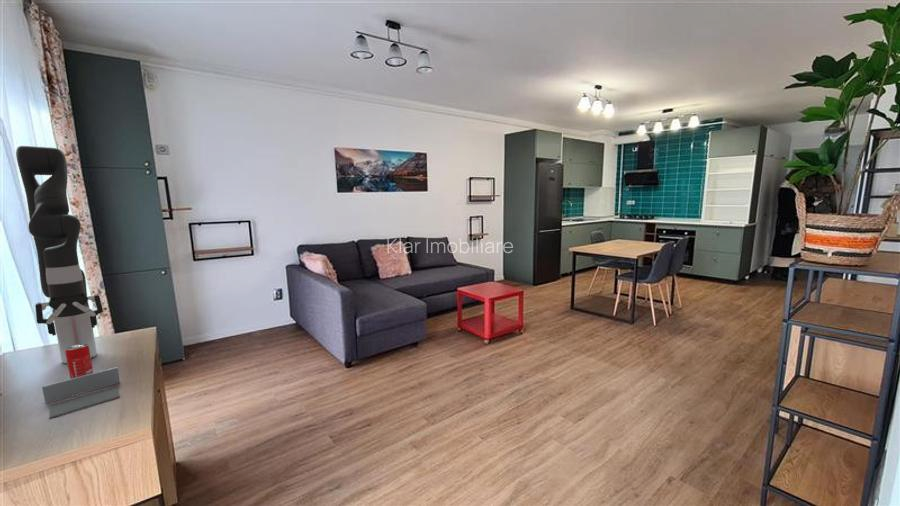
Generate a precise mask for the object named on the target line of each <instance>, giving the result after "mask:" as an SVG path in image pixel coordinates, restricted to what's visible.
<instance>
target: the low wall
mask: <svg viewBox="0 0 900 506" xmlns="http://www.w3.org/2000/svg"><path fill="white" fill-rule="evenodd" d="M119 383H121V381H120V374H119V370H118V366H116V367H111V368H106V369H104V370H100V371H96V372H93V373H91V374H87V375H83V376H79V377H75V378H71V379H70V378H68V379H64V380H60V381H57V382H53V383H49V384H48V383H47V384H44V385H42V386H41V388H42V394H43V399H44V403H45V404H48V402H49V403H51V401H52V402H55V400H56V401H59V400H63V399H67V398H70V397H73V396H72V395H74V396H77V395H80V393H81V394H84V393H88V392H91V391H94V389H95V390H98V388H99V389H102V388H105V387H109V386H112V385H115V384H119ZM90 390H91V391H90ZM87 391H88V392H87ZM83 392H84V393H83ZM76 394H77V395H76ZM69 396H70V397H69ZM66 397H67V398H66Z"/></svg>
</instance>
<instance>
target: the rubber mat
mask: <svg viewBox="0 0 900 506" xmlns="http://www.w3.org/2000/svg"><path fill="white" fill-rule="evenodd" d="M118 389H119V388H118V386H117V385H114V386H112V387H111V386H110V387H107V388H103V389H99V390H96V391H93V392H90V393H87V394H83V395H80V396H75V397H71V398H69V399H65V400H61V401H58V402H55V403H51V404H49V415H48V416H49V419H53V418H58V417H60V416H63V414H64V415H66V413H67V414H70V413H74V412H77V411H80V410H83V408H84V409H87V408H90V407H93V406H97V405H100V404H103V403H107V402H110V401H113V400H116V398H117V399H119V397H121V396H120V393H119V390H118ZM99 403H100V404H99ZM89 406H90V407H89ZM73 411H74V412H73Z"/></svg>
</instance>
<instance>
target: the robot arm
mask: <svg viewBox="0 0 900 506" xmlns="http://www.w3.org/2000/svg"><path fill="white" fill-rule="evenodd" d="M15 158H16V162H17V165H18V169H19V173H20V177H21V180H22V184H23V188H24V192H25V197H26V201H27V209H28V210H27V211H28V216H29V223H28V231H29V233H30V234H31V236H32V237H33V241H34V245H35V249H36V253H37V260H38V261H37V263H38V269H39V270H38V271H39V280H40V287H41V290H42V293H43V294H44V296H45V297H46V298H49V302H47V301H46V302H37V303H36V304H35V306H34V307H35V315H36V316H35V317H36V318H35V319H36V324H45V325H46V327H47V332H48V334H49V335H52V336H54V337H55V336H56V337H57V344H58V349H59V354H60V360H61V363H62V364H66V363H67V358H66V353H65V351H66V348H67V347H70V346H73V345H77V344H87V345H88V346H89V351H90V356H91V359H92V357H93V358H94V357H96V356H97V355H98V351H97V345H96V339H95V334H94V328H95V327H96V326H97V325H98V319H97V315H99V314H102V313H104V308H103V305H102V300H101V298H100V297H101V296H100V294H97V293H95V294H93V295H88V293H87V291H88V289H87V283H86V281H87V280H86V275H85V272H84V270H83V269H81V267H80V263H79V256H78V240H79V236H80V232H81V227H82V224H81V221H80V219H79V218H78V217H76V215H72V214H69V212H70V207H69V201H68V194H67V188H68V162H67V157H66V155H65V153H64V151H63V150H62V149H60V148H57V147H53V146H52V147H51V146H50V147H49V146H48V147H47V146H37V145H36V146H31V145H19V146H17V148H16V150H15ZM36 176H50V177H48V178H47V179H45V180H44V182H42V183H41V184H40V183H39V182H38V180H37V178H36ZM89 301H91V302H92V303H95V305H96V309H95V310H93V309H92V308H90V304H89ZM47 307H50V308H51V309H52V313H51V314H50V315H49V316H48V317H47V318H44V314H43V311H45V310H46V309H47Z"/></svg>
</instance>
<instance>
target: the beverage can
mask: <svg viewBox="0 0 900 506" xmlns="http://www.w3.org/2000/svg"><path fill="white" fill-rule="evenodd" d="M65 353H66V358H67V364H66V365H67V369H68V374H69V379H71V378H75V377H79V376H83V375H87V374H91V373H94V369H93V363H92V358H91V356H90V351H89V346H88V345H87V344H77V345H73V346H70V347H67V348H66V351H65Z"/></svg>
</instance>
